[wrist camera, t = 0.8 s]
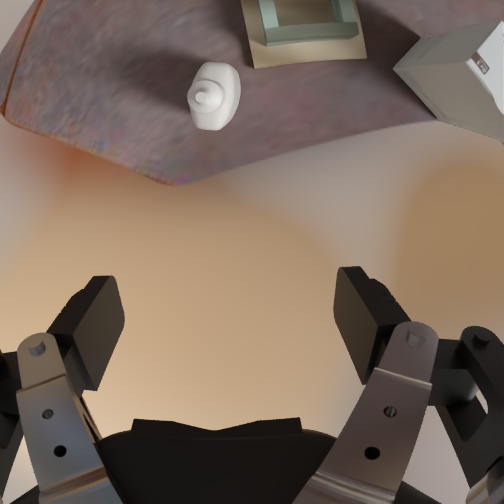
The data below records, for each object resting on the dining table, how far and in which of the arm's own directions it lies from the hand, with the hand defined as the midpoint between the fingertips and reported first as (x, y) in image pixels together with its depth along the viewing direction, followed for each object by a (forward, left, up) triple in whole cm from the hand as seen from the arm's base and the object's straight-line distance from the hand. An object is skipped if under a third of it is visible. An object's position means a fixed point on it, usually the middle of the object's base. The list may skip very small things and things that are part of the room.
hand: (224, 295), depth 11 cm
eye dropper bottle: (-7, -1, -24) cm, 24 cm away
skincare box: (-7, +20, -24) cm, 32 cm away
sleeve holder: (-16, +8, -23) cm, 29 cm away
